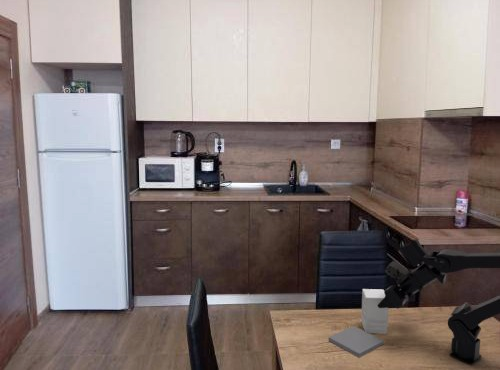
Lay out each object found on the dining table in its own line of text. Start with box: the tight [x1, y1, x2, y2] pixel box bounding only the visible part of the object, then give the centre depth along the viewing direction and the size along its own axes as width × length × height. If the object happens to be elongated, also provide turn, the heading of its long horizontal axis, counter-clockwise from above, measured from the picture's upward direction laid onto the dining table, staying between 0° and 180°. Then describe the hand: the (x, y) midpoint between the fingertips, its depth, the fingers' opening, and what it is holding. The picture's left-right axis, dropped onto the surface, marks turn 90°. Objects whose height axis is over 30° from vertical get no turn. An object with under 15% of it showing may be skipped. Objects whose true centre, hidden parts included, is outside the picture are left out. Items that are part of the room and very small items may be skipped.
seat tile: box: [328, 325, 385, 358], centre depth 129 cm, size 12×12×1 cm
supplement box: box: [360, 288, 389, 335], centre depth 137 cm, size 7×7×13 cm
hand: (383, 301), depth 135 cm, fingers open, 9 cm apart
